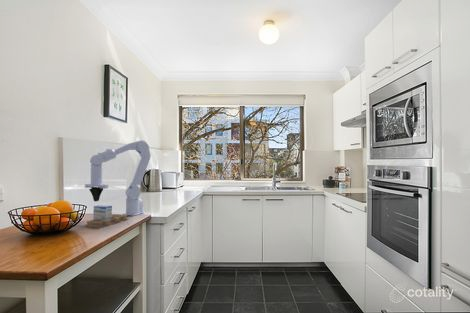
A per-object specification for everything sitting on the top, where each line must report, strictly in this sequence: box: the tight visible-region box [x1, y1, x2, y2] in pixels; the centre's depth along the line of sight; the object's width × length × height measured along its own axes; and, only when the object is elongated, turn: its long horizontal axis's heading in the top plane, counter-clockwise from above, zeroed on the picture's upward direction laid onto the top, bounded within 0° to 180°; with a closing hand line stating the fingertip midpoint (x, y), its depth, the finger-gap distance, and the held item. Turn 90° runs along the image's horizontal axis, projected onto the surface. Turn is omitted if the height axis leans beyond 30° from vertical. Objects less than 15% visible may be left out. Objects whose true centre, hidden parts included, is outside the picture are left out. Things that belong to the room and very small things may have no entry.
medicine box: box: [92, 204, 113, 220], centre depth 140 cm, size 8×4×9 cm, turn 76°
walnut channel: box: [86, 213, 128, 229], centre depth 139 cm, size 18×8×2 cm, turn 161°
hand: (96, 201), depth 151 cm, fingers closed
